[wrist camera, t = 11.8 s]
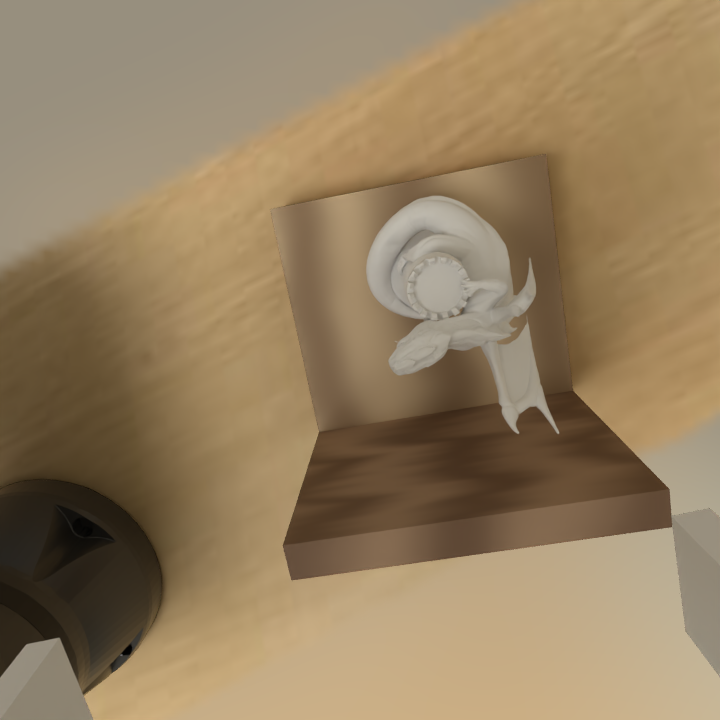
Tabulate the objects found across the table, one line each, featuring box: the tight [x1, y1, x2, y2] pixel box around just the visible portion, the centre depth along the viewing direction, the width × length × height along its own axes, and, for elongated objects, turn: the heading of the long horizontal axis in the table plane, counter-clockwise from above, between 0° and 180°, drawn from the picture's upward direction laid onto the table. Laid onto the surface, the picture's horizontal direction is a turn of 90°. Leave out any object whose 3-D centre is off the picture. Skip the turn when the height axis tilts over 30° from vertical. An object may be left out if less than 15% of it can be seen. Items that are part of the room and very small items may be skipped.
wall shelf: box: [270, 154, 672, 580], centre depth 30 cm, size 15×15×16 cm
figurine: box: [366, 196, 559, 434], centre depth 28 cm, size 11×8×12 cm
